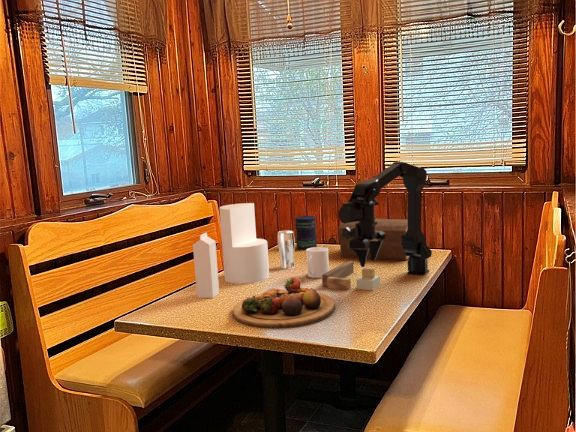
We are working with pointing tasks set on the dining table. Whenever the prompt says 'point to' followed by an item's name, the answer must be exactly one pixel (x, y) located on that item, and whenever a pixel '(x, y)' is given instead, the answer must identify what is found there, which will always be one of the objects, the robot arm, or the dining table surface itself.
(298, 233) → the storage jar
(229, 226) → the stepped white drum
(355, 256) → the wooden bread box
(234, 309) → the wooden plate with food
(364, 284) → the square base with post
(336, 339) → the dining table surface
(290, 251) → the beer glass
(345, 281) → the cleat board
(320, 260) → the mug
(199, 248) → the milk
